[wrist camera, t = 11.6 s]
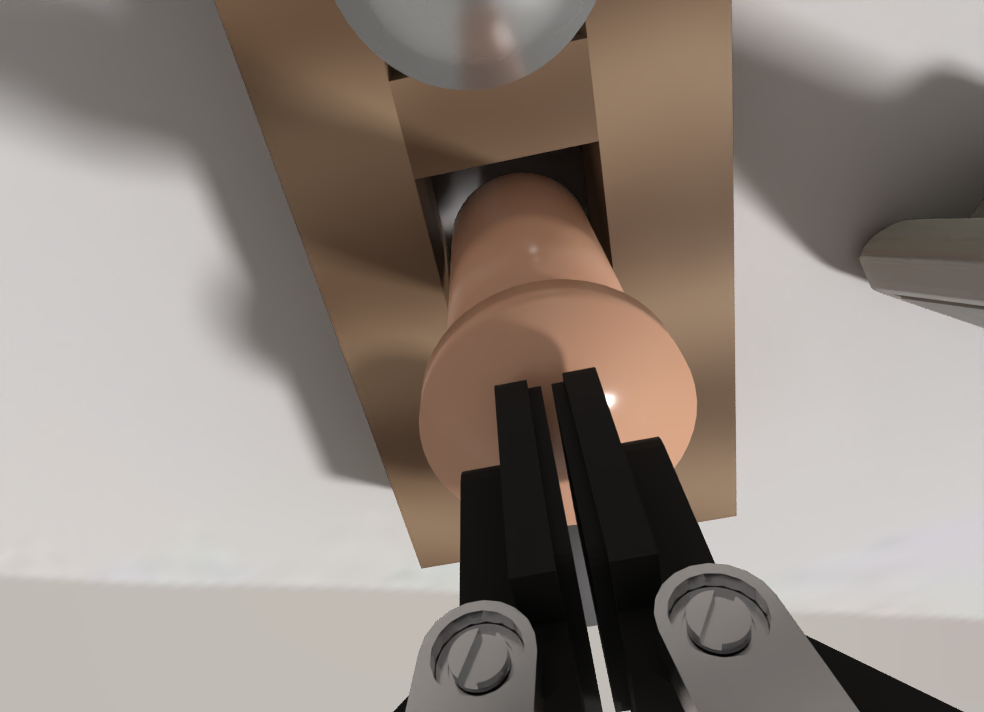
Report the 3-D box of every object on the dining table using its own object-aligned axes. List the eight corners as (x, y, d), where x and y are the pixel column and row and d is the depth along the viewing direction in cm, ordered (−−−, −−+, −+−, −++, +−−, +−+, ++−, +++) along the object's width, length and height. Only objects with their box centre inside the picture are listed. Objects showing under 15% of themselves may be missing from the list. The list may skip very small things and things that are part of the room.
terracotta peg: (419, 177, 18) (385, 332, 10) (592, 141, 18) (691, 273, 10) (458, 327, 20) (453, 545, 13) (610, 298, 20) (701, 503, 12)
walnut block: (194, -204, 17) (122, -251, 13) (669, -327, 16) (727, -411, 12) (426, 496, 29) (421, 568, 25) (702, 448, 28) (736, 515, 24)
